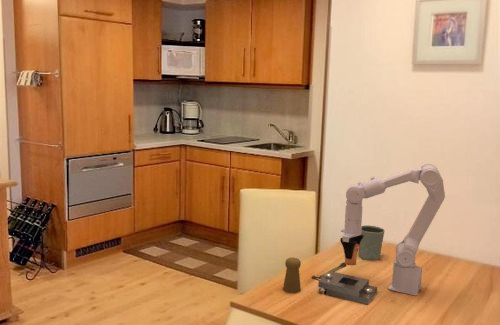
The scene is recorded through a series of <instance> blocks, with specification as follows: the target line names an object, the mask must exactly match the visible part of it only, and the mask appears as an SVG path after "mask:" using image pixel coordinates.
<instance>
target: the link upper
mask: <svg viewBox="0 0 500 325" xmlns="http://www.w3.org/2000/svg"><path fill="white" fill-rule="evenodd" d="M329 271H330V270H329ZM325 273H326V272H325ZM319 280H320V281H318V285H317V287H318V288H319V289H318V292H319V293H320V294H324V293H325V292H327V289H329V290H333V291H337V292H341V293H345V294H349V295H354V296H358V297H359V296H360V295H361V294H362V293H363V291H364V290H365V288H367V287H368V286H369V285H370V279H368V278H365V277H360V276H359V277H358V276H355V275H354V276H353V275H349V274H344V273H341V272H337V271H335V272H332V271H330V272H329V273H326V274H325V276H324V277H323V278H322V279H319ZM342 283H347V284H351V285H354V286H351V285H347V284H342Z"/></svg>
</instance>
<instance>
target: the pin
mask: <svg viewBox="0 0 500 325" xmlns="http://www.w3.org/2000/svg"><path fill="white" fill-rule="evenodd" d="M357 249H358V250H359V244H357V243H356V245H355V247H354V251H353V256H352V259H347V258H345V257H344V262H345V264H346V266H351V267H352V266H356V265H357V259H358V258H357V257H358V252H357Z"/></svg>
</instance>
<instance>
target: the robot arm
mask: <svg viewBox="0 0 500 325" xmlns="http://www.w3.org/2000/svg"><path fill="white" fill-rule="evenodd" d="M441 175H442V174H441V173H440V171H439V170H438V167H437V166H436V165H434V164H430V163H427V164H424V165H422V166H421V165H418V166H414V167H411V168H408V169H406V170H403V171H401V172H398V173H395V174H393V175H390V176H388V177H385V178H383V177H379V176H376V177H375V176H371V177H370V179H368V180H365V181H363V182H361V181H358V182H357V184H356V183H355V184H351V185H349V187H348V188H347V190H346V192H345V196H346V202H345V203H346V205H345V214H344V228H342V229H341V230H340V232H341V233H343V235H342V237H341V238H340V241H339V242H340V243H341V246H342V248H343V254H344V259H345V258H347V259H352V256H353V251H354V247H355V245H356V243H357V244H359V245H360V242H361V240H362V239H363V237H364V235H362V234H361V232H362V227H361V226H362V224H363V222H362V220H363V200H364V199H370V198H372V197H375V196H378V195H382V194H384V193H385V192H386V189H387V188H391V187H394V186H397V185H401V184H405V183H408V182H410V183H411V182H412V183H415V184H420V183H421V184H422V186H424V187H425V189H426V192H427V194H428V196H427V197H426V199H425V201H424V204H423V205H422V207H421V209H420V210H419V213H418V214H417V216H416V218H415V220H414V222H413V223H412V226H411V227H410V229H409V231H408V232H407V234H406V235H405V236H404V237H403V239H402V241H401V242H399V243H398V244H397V245H396V247H395V259H394V260H393V267H392V280H391V284H390V285H389V286H388V290H389V291H394V292H398V293H402V294H407V295H412V296H417V295H418V294H419V292H420V290H421V289H422V276H423V268H422V267H421V266H419V265H417V264H416V255H417V252H418V250H419V246H420V243H421V242H422V240H423V238H424V237H425V234H426V233H427V232H428V229H429V228H430V225H432V222H433V220H434V219H435V217H436V214H438V212H439V209H440V207H441V206H442V204H443V202H444V201H445V199H446V194H445V193H446V192H445V187H444V179H443V177H442V176H441ZM419 182H420V183H419ZM357 253H359V249H357Z"/></svg>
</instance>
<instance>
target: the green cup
mask: <svg viewBox="0 0 500 325" xmlns="http://www.w3.org/2000/svg"><path fill="white" fill-rule="evenodd" d="M361 227H362V232H361V234H362V235H364V237H363V239H362V240H361V242H360V245H359V249H358V252H357V257H358V259H360V260H363V261H364V260H365V261H369V262H370V261H371V262H373V261H374V262H375V261H379V260H380V258H381V254H382V247H383V241H384V236H385V229H384V228H382V227H379V226H376V225H361Z"/></svg>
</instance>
